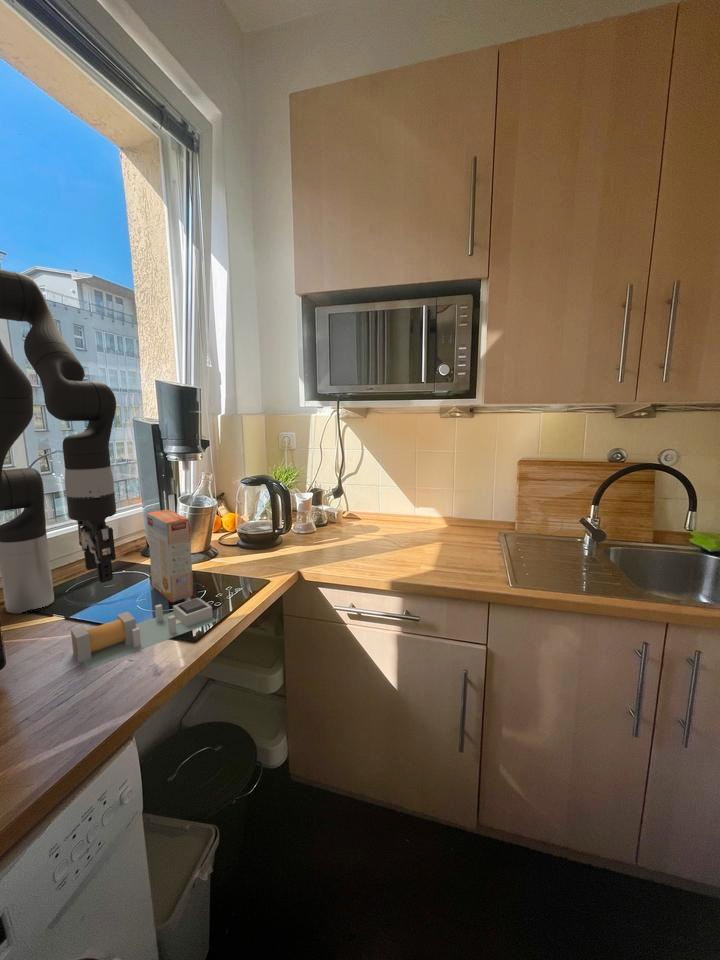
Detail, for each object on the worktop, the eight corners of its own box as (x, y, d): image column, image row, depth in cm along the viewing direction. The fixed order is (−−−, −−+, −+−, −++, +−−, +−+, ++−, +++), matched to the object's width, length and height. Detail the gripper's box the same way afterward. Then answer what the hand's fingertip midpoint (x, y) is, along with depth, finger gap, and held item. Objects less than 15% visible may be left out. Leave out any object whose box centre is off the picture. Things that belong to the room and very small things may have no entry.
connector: (180, 616, 94) (179, 604, 93) (197, 610, 97) (196, 598, 96) (188, 622, 91) (187, 610, 91) (205, 616, 94) (204, 604, 94)
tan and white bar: (73, 653, 79) (70, 629, 79) (129, 633, 87) (128, 611, 86) (79, 662, 76) (76, 638, 76) (137, 641, 84) (135, 618, 83)
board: (72, 649, 82) (70, 629, 81) (195, 607, 100) (194, 590, 99) (87, 673, 75) (85, 651, 74) (217, 623, 92) (216, 605, 92)
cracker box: (195, 598, 105) (190, 518, 101) (170, 605, 101) (165, 522, 97) (174, 581, 115) (169, 508, 111) (151, 587, 111) (145, 511, 107)
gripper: (57, 489, 78) (66, 570, 81) (76, 500, 69) (86, 592, 71) (102, 484, 84) (109, 560, 86) (125, 494, 74) (133, 579, 77)
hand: (99, 574), depth 79 cm, fingers open, 8 cm apart
